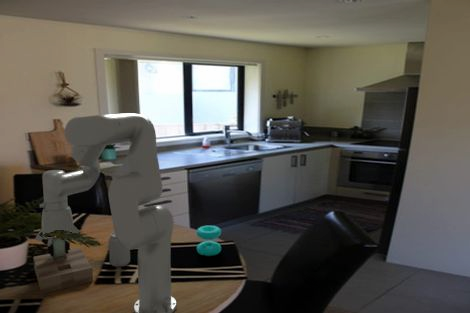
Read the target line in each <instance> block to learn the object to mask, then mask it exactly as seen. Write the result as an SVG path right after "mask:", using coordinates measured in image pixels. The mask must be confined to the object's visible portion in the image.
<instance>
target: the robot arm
mask: <svg viewBox="0 0 470 313" xmlns="http://www.w3.org/2000/svg"><path fill="white" fill-rule="evenodd" d="M154 126H155V125H154V124H153V123H152V121H151V120H150V119H149V118H148V117H146V116H145V115H143V114H139V113H133V112H132V113H131V112H124V113H123V112H122V113H112V114H111V113H109V114H97V115H87V116H86V115H85V116H75V117H73V118H71V119H70V120H68V122H67V124H66V125H65V127H64V137H65V139H66V142H68V143H69V145H71V146H72V147H71V151H70V154H71V157H72V159H73V160H74V161H75V162H76V163H77V164H80V165H82V166H83V167H82V168H81V169H80V170H74V171H70V172H66V171H64V170H61V169H52V170H51V169H50V170H47V171H44V172H43V174H42V176H41V177H42V178H41V179H42V190H43V202H42V203H39V208H42V212H41V213H42V214H41V229H40V231H39V232H38V234H36V236H35V239H36V241H39V242H41V243H43V244H44V245H45V246H46V247H47V254H50V255H51V257H53V246H52V239H53V237H44V236H43V235H44V234H45V233H50V232H53V231H55V230H64V231H65V230H66V231H69V232H72V233H77V235H78V234H79V233H80V230H79V229H78V228H77V227H76V226H75V225H74V220H73V213H72V209H71V206H69V205H68V196H71V195H74V194H75V195H76V194H78V193H83V192H87V191H89V190H90V189H91V188H92V187H93V186H94V185H95V184H96V182H97V180H98V179H99V177H100V174H101V164H100V160H99V158H100V156H101V155H102V154H103V151H104V149H105V148H106V147H107V146H109V145H116V144H124V143H131V144H130V145H129V148H128V151H127V156H126V157H127V158H126V159H127V166H128V173H124V174H120V175H117V176H116V177H115V178H113V179H112V180H111V182H110V184H109V187H108V201H109V208H110V212H111V219H112V224H113V225H112V226H113V230H114V231H113V232H115V235H116V238H117V240H118V242H119V244H120V245H121V246H122V247H124V248H126V249H130V250H134V249H137V274H138V275H137V276H138V278H137V279H138V283H137V284H138V299H137V301H135V303H134V305H133V313H174V311H176V309H177V300H176V298H174V296H172V275H171V274H172V270H171V269H172V267H171V265H172V263H171V259H172V258H171V257H172V256H171V255H172V254H171V253H172V252H171V246H172V245H171V244H172V236H173V232H174V231H173V230H174V217H173V214H172V212H171V211H170V209H169V208H168V207H166V206H164V205H160V204H157V205H156V204H155V205H150V206H147V207H144V208H141V209H140V208H139V206H142V205H146V204H149V203H152V202H154V201H156V200H158V199H159V198H160V197H161V196H162V195H163V181H162V175H161V170H160V163H159V158H158V153H157V135H156V134H157V133H156V130H155V129H156V128H155V127H154ZM41 232H42V233H43V235H42V237H41V236H40V235H39V234H40V233H41ZM70 243H71V242H70V241H65V246H66V253H67V254H68V250H71V246H70V245H71V244H70Z"/></svg>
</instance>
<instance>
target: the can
mask: <svg viewBox="0 0 470 313" xmlns="http://www.w3.org/2000/svg"><path fill="white" fill-rule="evenodd" d="M108 251H109V252H108V253H109V255H108V256H109V264H110V265H111V266H113V267H116V268H122V267H125V266H127V265H128V264H129V263H130V262H131V249H126V248H124V247H122V246H121V245H120V244H119V242H118V240H117V238H116V235H115V231H113V232H111V233H110V236H109V237H108Z"/></svg>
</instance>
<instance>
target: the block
mask: <svg viewBox="0 0 470 313" xmlns="http://www.w3.org/2000/svg"><path fill="white" fill-rule="evenodd" d="M32 258H33V267H34V268H33V269H35V270H34V274H35V276H37V277H36V279H37V284H38V286H39V290H40V293H41V295H43V294H46V293H50V292H55V291H59V290H62V289H66V288H67V289H68V288H71V287H76V286H79V285H84V284H87V283H88V284H89V283H91V282H94V276H93V275H94V274H93V272H94V271H93V266H92V265H91V262H90V261H89V260H88V257H87V256H86V255H85V253H84V252H83V250H82V249H81V247H77V248H70V250H68V254H67V253H66V257H65V258H63V259H58V260H55V259H53V257H51V255H50V254H48V253H46V254H42V255H37V256H36V255H35V256H33V257H32Z"/></svg>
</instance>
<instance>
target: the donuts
mask: <svg viewBox="0 0 470 313" xmlns="http://www.w3.org/2000/svg"><path fill="white" fill-rule="evenodd" d="M221 234H222V229H221V228H220V227H218V226H216V225H203V226H200V227H198V228H197V229H196V235H197V237H199V238H200V239H202V240H205V241H202V242H200V243H198V244H197V246H196V251H197V253H198V254H199V255H202V256H204V255H205V257H212V256H216V255H218V254H220V252H221V251H222V246H221V245H220V243H219V242H217V241H214V240H216V239H218V238H219V237H221ZM212 240H213V241H212Z"/></svg>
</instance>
